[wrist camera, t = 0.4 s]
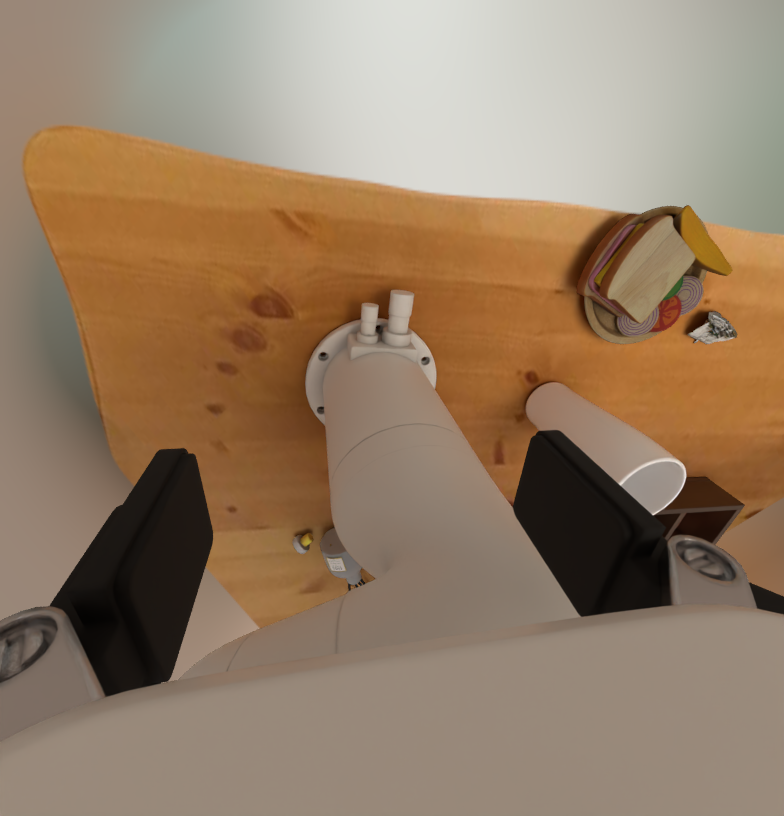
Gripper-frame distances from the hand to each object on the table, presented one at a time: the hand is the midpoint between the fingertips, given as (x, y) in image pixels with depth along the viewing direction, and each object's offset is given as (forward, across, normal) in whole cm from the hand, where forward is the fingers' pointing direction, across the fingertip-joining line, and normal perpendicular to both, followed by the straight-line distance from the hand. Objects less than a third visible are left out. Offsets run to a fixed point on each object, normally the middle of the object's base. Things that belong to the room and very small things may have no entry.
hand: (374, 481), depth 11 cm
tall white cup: (+26, -23, +11) cm, 36 cm away
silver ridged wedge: (+24, -41, +2) cm, 48 cm away
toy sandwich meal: (+25, -29, -2) cm, 38 cm away
